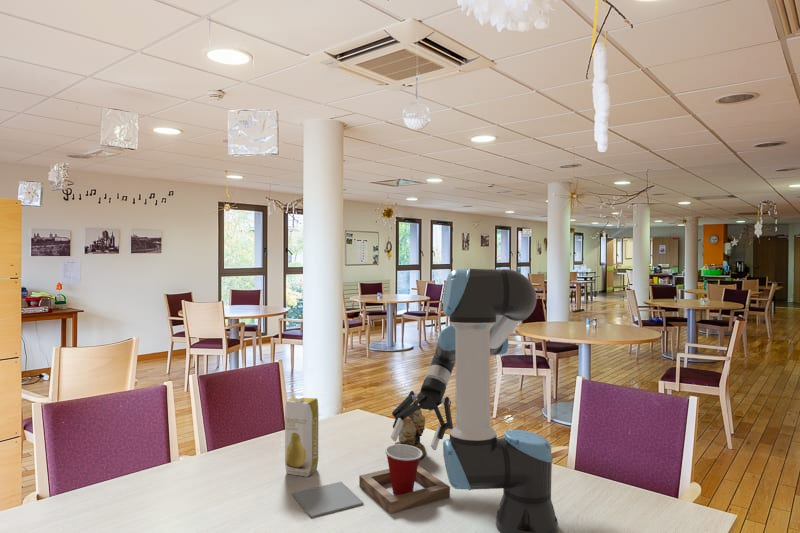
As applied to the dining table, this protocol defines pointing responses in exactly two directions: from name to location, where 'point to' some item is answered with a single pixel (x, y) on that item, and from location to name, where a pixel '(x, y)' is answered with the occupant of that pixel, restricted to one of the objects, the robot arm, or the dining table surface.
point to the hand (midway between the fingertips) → (412, 443)
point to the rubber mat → (327, 499)
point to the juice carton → (301, 435)
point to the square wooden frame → (408, 500)
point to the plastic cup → (403, 467)
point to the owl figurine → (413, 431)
